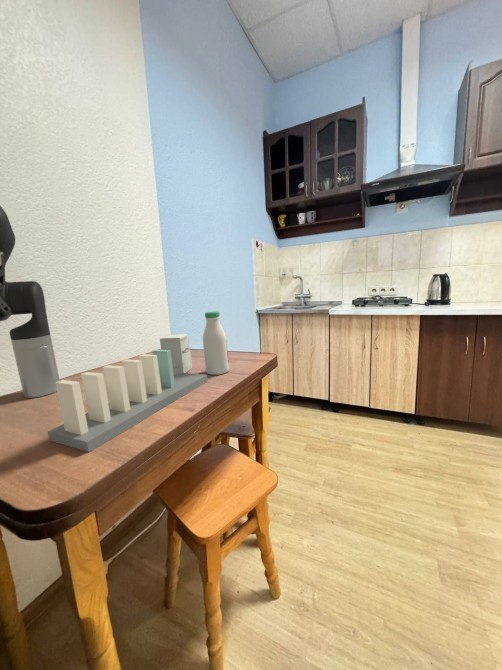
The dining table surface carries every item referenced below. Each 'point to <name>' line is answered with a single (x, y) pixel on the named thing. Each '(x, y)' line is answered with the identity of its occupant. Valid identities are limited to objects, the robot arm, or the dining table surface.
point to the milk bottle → (215, 345)
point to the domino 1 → (72, 406)
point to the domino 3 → (116, 388)
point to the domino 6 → (165, 368)
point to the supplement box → (178, 351)
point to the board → (126, 415)
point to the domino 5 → (151, 373)
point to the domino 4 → (135, 380)
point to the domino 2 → (96, 396)
